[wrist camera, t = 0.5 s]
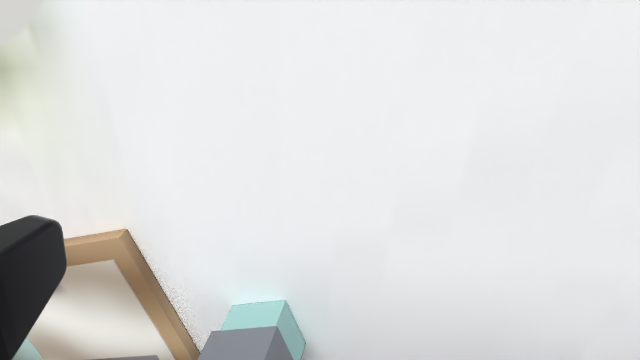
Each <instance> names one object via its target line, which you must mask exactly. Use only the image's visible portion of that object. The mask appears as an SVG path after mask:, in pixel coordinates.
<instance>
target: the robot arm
mask: <svg viewBox="0 0 640 360" xmlns="http://www.w3.org/2000/svg"><path fill="white" fill-rule="evenodd" d="M66 268H67V257H66V251H65V244H64V238H63V232H62V227H61V225H60V224H59V222H57V221H56V220H52V219H49V218H45V217H41V216H37V215H30V216H27V217H24V218H21V219H18V220H15V221H13V222H10V223H7V224H4V225H1V226H0V360H12V359H13V358H14V356H15V355H16V353H17V352H18V350H19V349H20V347H21V345H22V344H23V342H24V340H25V339H26V337H27V336H28V334H29V332H30V331H31V329H32V327H33V326H34V324H35V323H36V321H37V319H38V318H39V316H40V314H41V313H42V311H43V310H44V308H45V306H46V305H47V303H48V301H49V300H50V298H51V297H52V295H53V293H54V292H55V290H56V288H57V287H58V285H59V284H60V282H61V280H62V279H63V277H64V274H65V272H66Z"/></svg>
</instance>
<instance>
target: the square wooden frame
mask: <svg viewBox="0 0 640 360" xmlns="http://www.w3.org/2000/svg"><path fill="white" fill-rule="evenodd" d="M64 244H65V251H66V257H67V268H66V272H65V274H64V277H63V279H62V280H61V282H60V284H59V285H58V287H57V288H56V290H55V292H54V293H53V295H52V297H51V298H50V300H49V301H48V303H47V305H46V306H45V308H44V310H43V311H42V313H41V314H40V316H39V318H38V319H37V321H36V323H35V324H34V326H33V327H32V329H31V331H30V332H29V334H28V336H27V337H26V339H25V340H24V342H23V344H22V345H21V347H20V349H19V350H18V352H17V353H16V355H15V356H14V358H13V359H12V360H198V358H199V356H200V353H199V351H198V349H197V348H196V346H195V344H194V342H193V341H192V339H191V337H190V336H189V334H188V332H187V331H186V329H185V327H184V326H183V324H182V322H181V320H180V319H179V317H178V315H177V314H176V312H175V310H174V309H173V307H172V305H171V304H170V302H169V300H168V298H167V297H166V295H165V293H164V292H163V290H162V288H161V287H160V285H159V283H158V282H157V280H156V278H155V276H154V275H153V273H152V271H151V270H150V268H149V266H148V265H147V263H146V261H145V260H144V258H143V256H142V254H141V253H140V251H139V249H138V248H137V246H136V244H135V243H134V241H133V239H132V238H131V236H130V234H129V232H128V231H127V229H123V230H118V231H112V232H106V233H100V234H94V235H88V236H82V237H76V238H70V239H64Z"/></svg>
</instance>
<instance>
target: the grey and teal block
mask: <svg viewBox="0 0 640 360" xmlns="http://www.w3.org/2000/svg"><path fill="white" fill-rule="evenodd" d="M305 344H306V343H305V340H304V338H303V336H302V334H301V332H300V330H299V328H298V325H297V323H296V321H295V319H294V317H293V315H292V313H291V310H290V308H289V306H288V304H287V302H286V300H280V301H270V302H261V303H251V304H241V305H233V306H232V308H231V310H230V312H229V314H228V316H227V318H226V320H225V322H224V324H223V326H222V328H221V330H220V331H212V332H211V334H210V336H209V338H208V340H207V342H206V344H205V346H204V348H203V350H202V352H201V354H200V356H199V358H198V360H301V357H302V353H303V350H304V347H305Z"/></svg>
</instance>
